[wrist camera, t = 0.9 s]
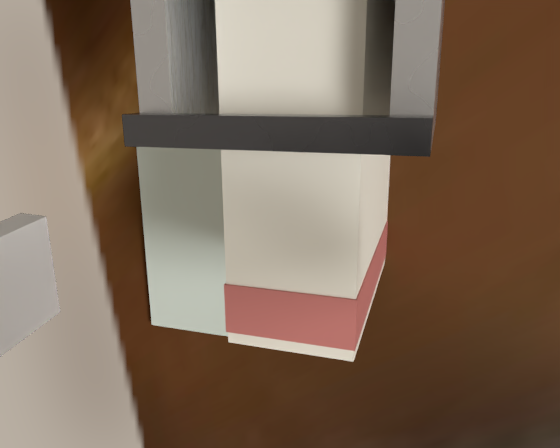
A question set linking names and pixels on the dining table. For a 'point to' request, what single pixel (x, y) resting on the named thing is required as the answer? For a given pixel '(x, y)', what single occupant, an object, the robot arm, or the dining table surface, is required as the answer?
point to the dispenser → (273, 127)
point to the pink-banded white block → (303, 173)
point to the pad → (184, 237)
